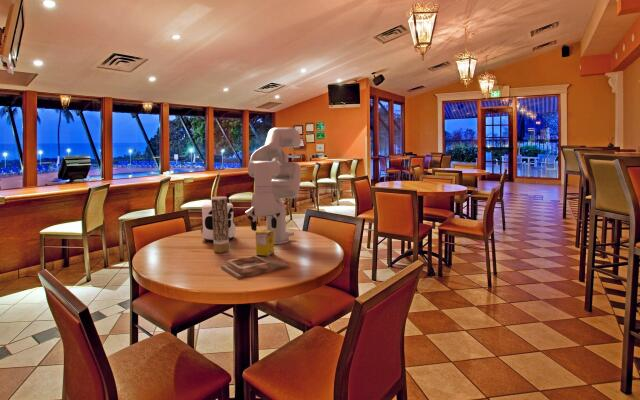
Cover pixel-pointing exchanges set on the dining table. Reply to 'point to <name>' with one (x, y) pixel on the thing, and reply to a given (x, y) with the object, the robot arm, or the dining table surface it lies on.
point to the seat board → (253, 266)
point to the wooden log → (220, 224)
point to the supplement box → (264, 243)
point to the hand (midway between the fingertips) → (264, 229)
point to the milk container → (208, 222)
